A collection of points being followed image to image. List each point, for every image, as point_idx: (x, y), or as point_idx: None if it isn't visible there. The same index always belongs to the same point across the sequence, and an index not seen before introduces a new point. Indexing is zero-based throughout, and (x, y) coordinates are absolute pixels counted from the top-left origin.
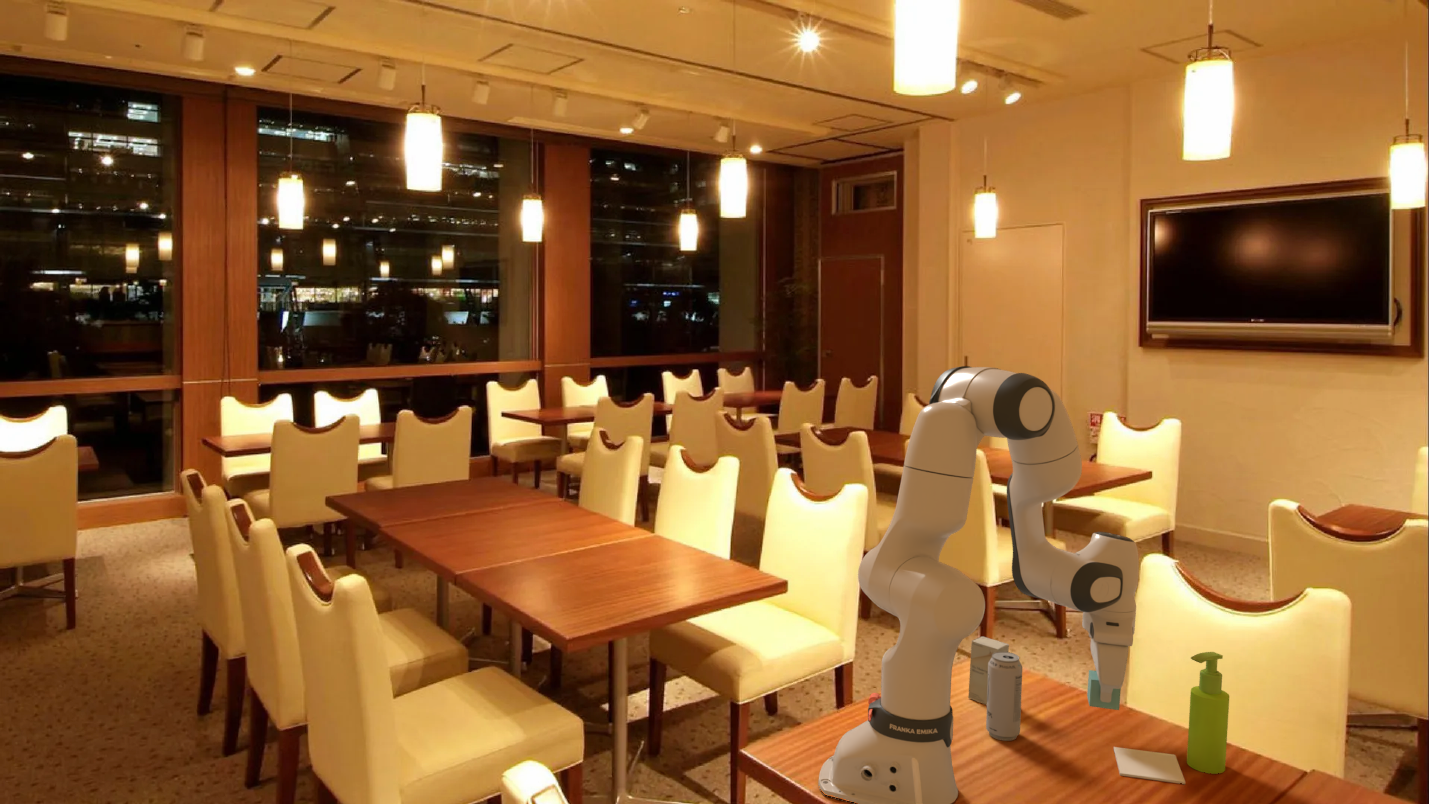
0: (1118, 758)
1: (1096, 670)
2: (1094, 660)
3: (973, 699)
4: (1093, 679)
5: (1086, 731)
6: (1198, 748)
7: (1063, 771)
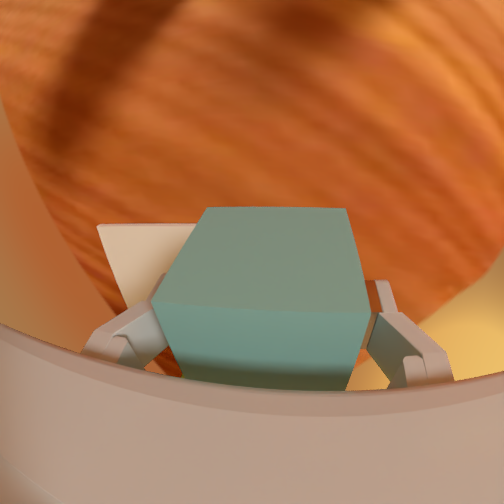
0: (156, 230)
1: (89, 379)
2: (282, 434)
3: None
4: (160, 313)
5: (316, 161)
6: (181, 377)
7: (61, 117)
